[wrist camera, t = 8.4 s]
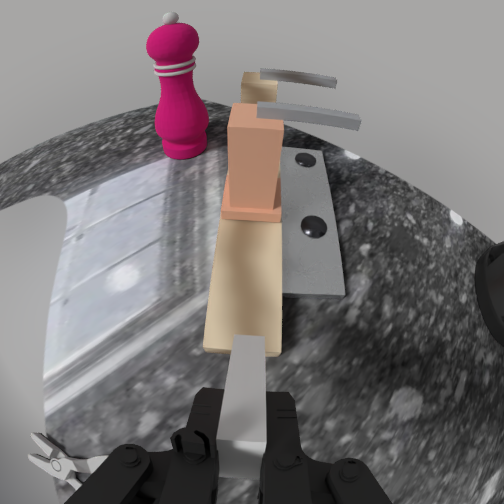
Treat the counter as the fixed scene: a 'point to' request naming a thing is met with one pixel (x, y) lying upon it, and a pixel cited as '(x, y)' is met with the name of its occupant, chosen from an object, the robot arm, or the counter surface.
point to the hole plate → (308, 228)
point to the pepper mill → (178, 89)
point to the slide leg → (265, 155)
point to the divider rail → (251, 252)
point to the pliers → (62, 461)
